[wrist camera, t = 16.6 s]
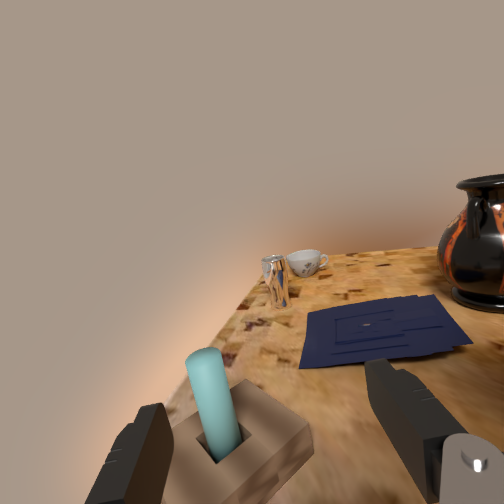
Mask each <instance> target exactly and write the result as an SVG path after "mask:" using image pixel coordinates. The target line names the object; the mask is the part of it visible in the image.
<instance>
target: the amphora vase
mask: <svg viewBox="0 0 504 504" xmlns="http://www.w3.org/2000/svg"><path fill="white" fill-rule="evenodd" d="M456 187H457V188H458V189H461V190H464V191H466V192H467V195H468V203H467V205H466V207H465V208H464V210H463V211H462V212H461V213H460V214H459V215H458V216H457V217H456V218H455V219H454V220H453V221H452V222H451V223H450V224H449V225H448V227H447V228H446V230H445V231H444V233H443V235H442V237H441V240H440V243H439V246H438V252H437V262H438V267H439V269H440V271H441V273H442V275H443V276H444V278H445V279H446V280H447V281H448V282H449V283H450V284H451V285H453V287H452V289H451V295H452V297H453V298H454V299H455V300H456V301H458V302H459V303H461V304H463V305H465V306H467V307H471V308H474V309H477V310H482V311H488V312H497V313H504V174H498V175H489V176H483V177H477V178H472V179H467V180H463V181H461V182H459V183H458V184H457V185H456Z"/></svg>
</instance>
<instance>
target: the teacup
mask: <svg viewBox="0 0 504 504" xmlns="http://www.w3.org/2000/svg"><path fill="white" fill-rule="evenodd" d="M323 257H325V258H326V262H325V263H324V264H322V265H320V266H319V264H320V261H321V259H322V258H323ZM286 259H287V261H288V264H289V266H290V268H291V269H292V270H293V272H295V273H296V274H297V275H298V276H300V277H308V276H311V275H313V274H314V272H315V271H316V270H317V269H318V268H320V267H322V266H325V265H326V264H327V263H328V256H327V255H325V254H323V255H320V252H319V251H316V250H302V251H297V252H294V253H291V254H289V255H287V256H286Z"/></svg>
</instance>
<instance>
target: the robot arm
mask: <svg viewBox="0 0 504 504" xmlns="http://www.w3.org/2000/svg"><path fill="white" fill-rule="evenodd" d="M364 366H365V374H366V382H367V390H368V397H369V401H370V404H371V407H372V409H373V411H374V413H375V415H376V417H377V419H378V420H379V422H380V424H381V425H382V427H383V429H384V431H385V432H386V434H387V436H388V437H389V439H390V441H391V442H392V444H393V446H394V448H395V449H396V451H397V453H398V454H399V456H400V458H401V460H402V461H403V463H404V465H405V466H406V468H407V470H408V472H409V473H410V475H411V477H412V478H413V480H414V482H415V484H416V485H417V487H418V489H419V490H420V492H421V494H422V495H423V497H424V499H425V501H426V502H427V504H433V503H438V502H439V504H504V452H501V451H500V450H499V449H498V448H497V447H495V446H494V445H493V444H491V443H490V442H488V441H487V440H485V439H483V438H480V437H478V436H475V435H471V434H469V433H468V432H467V431H466V430H465V429H464V428H463V427H462V425H461V424H460V423H459V422H458V421H457V420H456V419H455V418H454V417H453V416H452V415H451V413H450V412H449V411H448V410H447V409H446V408H445V407H444V406H443V405H442V404H441V403H440V401H439V400H438V399H437V398H435V396H434V395H433V394H432V393H431V392H430V390H429V389H428V390H427V387H426V386H425V385H424V384H423V383H422V382H421V381H420V380H419V378H418V377H417V376H415V375H413V374H411V373H410V372H408V371H406V370H404V369H400V370H395V369H394V368H393V367H392V365H391V364H390V363H389V362H388V361H387V360H386V359H385V358H381V359H376V360H371V361H366V362H365V365H364ZM173 452H174V437H173V432H172V429H171V426H170V423H169V420H168V417H167V414H166V411H165V408H164V405H163V404H162V403H156V404H151V405H146V406H142V407H141V408H140V409H139V411H138V414H137V416H136V418H135V420H134V423H129V424H128V425H127V426H126V427H125V428H124V429H123V430H122V431H121V432H120V434H119V435H118V436H117V438H116V440H115V442H114V444H113V446H112V448H111V452H110V453H109V454H108V456H107V458H106V460H105V464H104V465H103V466H102V469H101V471H100V473H99V475H98V477H97V479H96V481H95V483H94V485H93V487H92V489H91V491H90V493H89V495H88V497H87V499H86V501H85V504H161V501H162V497H163V493H164V488H165V484H166V480H167V476H168V472H169V468H170V464H171V460H172V456H173Z"/></svg>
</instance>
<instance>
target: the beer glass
mask: <svg viewBox="0 0 504 504" xmlns="http://www.w3.org/2000/svg"><path fill="white" fill-rule="evenodd" d="M262 269H263V275H264V279H265V282H266V285H267V288H268V290H269V293H270V296H271V308H272V309H273V310H275V311H283V310H286V309H288V308H290V307H291V305H292V304H291V301H290V298H289V295H288V272H287V267H286V262H285V259H284V256H283V255H272V256H268V257H265V258H263V259H262Z"/></svg>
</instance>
